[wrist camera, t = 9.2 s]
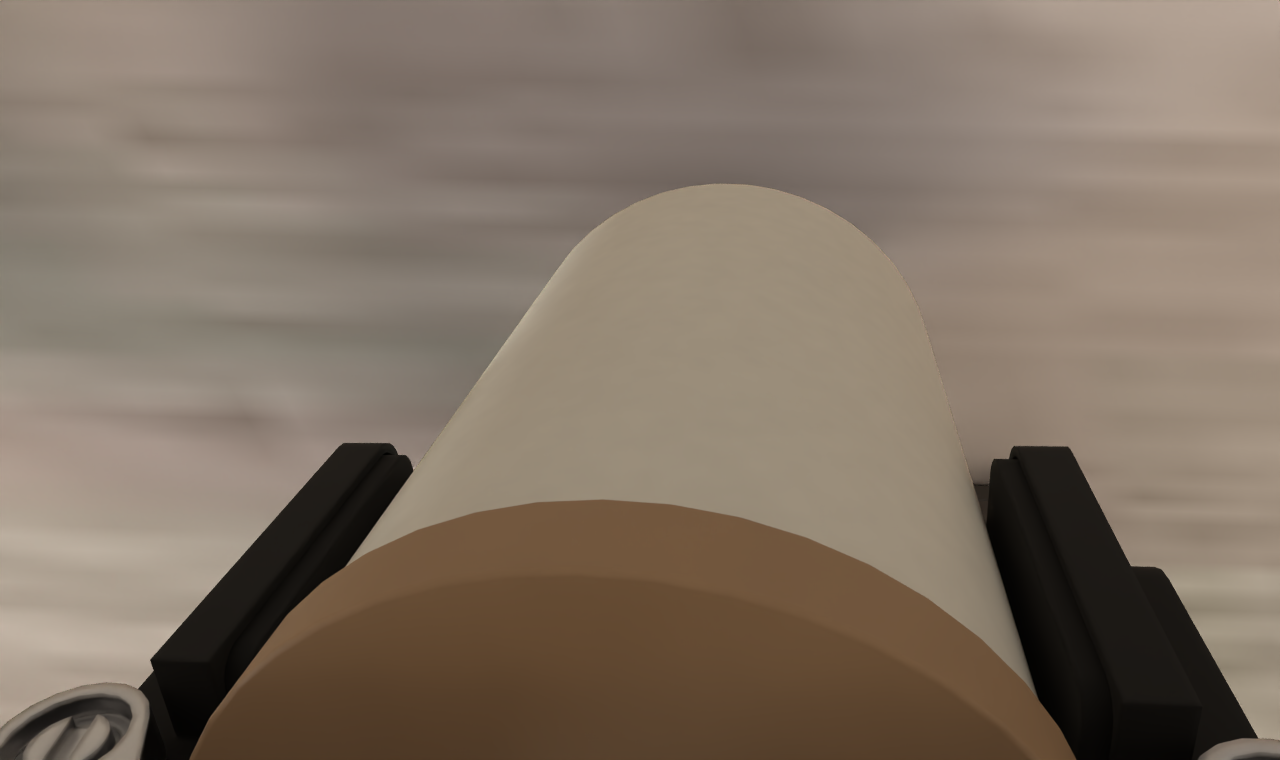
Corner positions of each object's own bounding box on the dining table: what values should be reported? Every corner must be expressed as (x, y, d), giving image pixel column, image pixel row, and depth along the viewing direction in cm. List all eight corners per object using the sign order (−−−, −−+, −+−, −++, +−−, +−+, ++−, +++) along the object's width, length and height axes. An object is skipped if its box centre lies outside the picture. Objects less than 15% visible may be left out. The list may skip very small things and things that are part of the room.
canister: (441, 312, 16) (-8, 795, 7) (800, 82, 14) (795, 369, 5) (666, 609, 18) (531, 1292, 9) (1017, 449, 16) (1304, 1152, 7)
